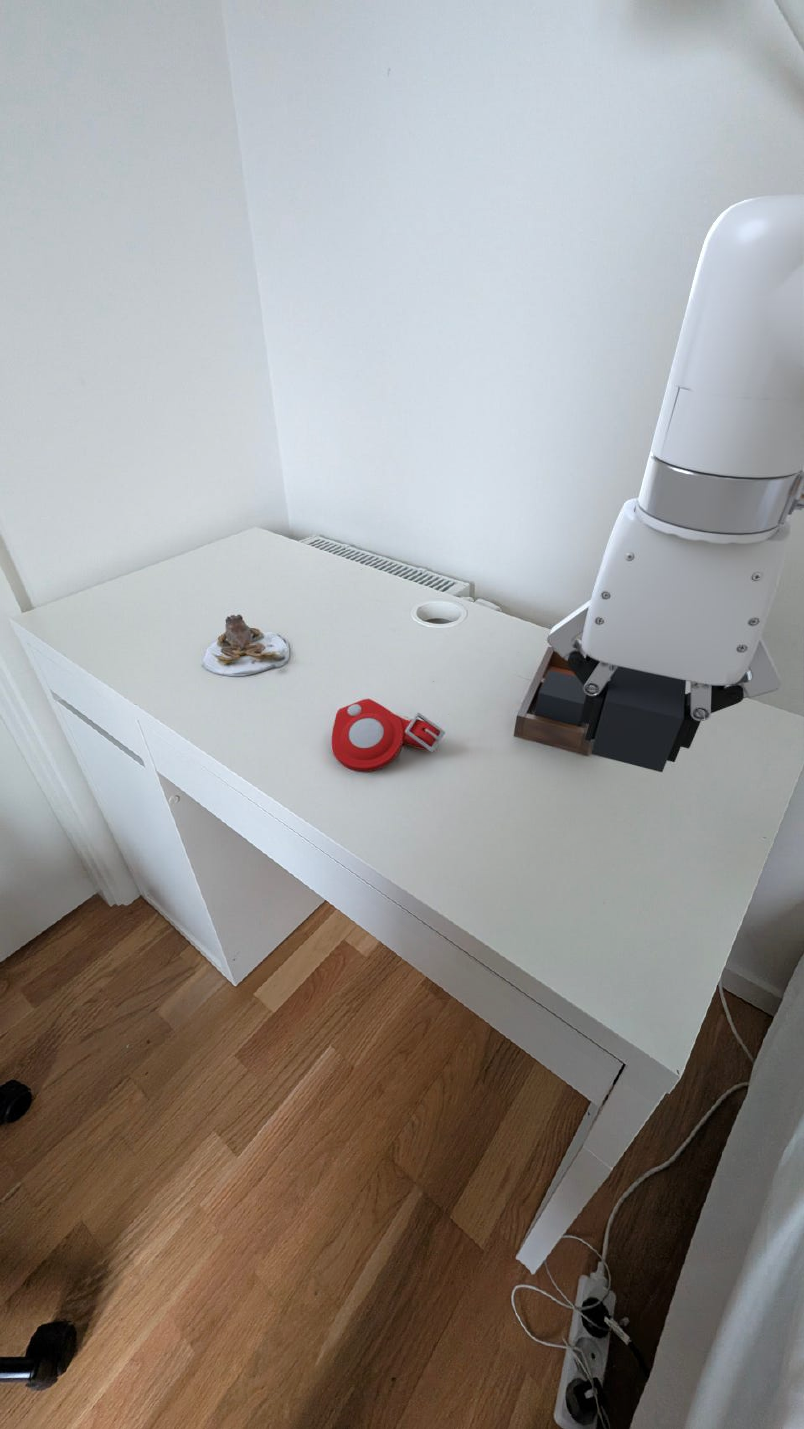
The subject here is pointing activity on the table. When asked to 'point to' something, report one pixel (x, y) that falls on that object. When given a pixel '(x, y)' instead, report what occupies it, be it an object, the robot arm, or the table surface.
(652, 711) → the dark grey block
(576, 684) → the dark grey cube
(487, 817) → the table surface
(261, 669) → the frog figurine
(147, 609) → the table surface
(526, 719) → the frame
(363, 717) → the tracker holder
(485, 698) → the table surface
